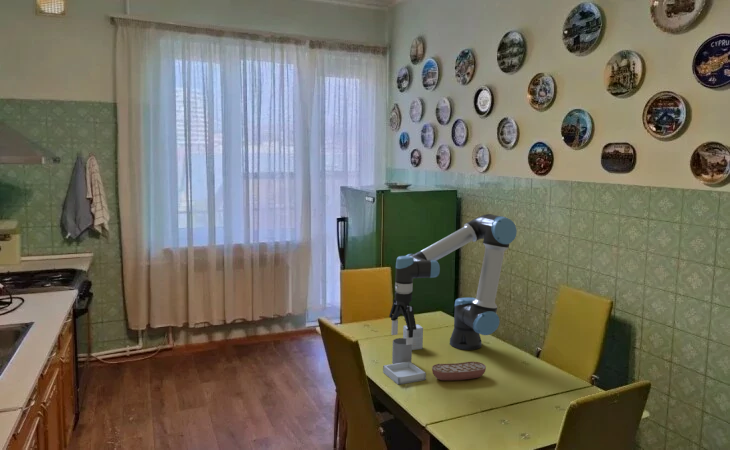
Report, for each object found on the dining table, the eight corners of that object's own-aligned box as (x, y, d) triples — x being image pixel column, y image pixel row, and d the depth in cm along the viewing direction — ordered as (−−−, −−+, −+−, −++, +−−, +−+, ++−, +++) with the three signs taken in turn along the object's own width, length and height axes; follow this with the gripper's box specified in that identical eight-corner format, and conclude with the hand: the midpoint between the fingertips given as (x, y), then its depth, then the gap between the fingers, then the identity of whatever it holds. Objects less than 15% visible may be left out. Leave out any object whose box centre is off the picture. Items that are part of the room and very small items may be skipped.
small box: (418, 345, 265) (418, 324, 263) (422, 349, 259) (423, 327, 258) (402, 346, 262) (403, 325, 261) (407, 350, 257) (407, 329, 256)
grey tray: (409, 367, 236) (409, 361, 236) (425, 379, 224) (425, 372, 223) (383, 372, 231) (383, 365, 230) (398, 384, 219) (398, 377, 218)
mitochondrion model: (479, 372, 233) (480, 360, 233) (490, 381, 224) (490, 369, 223) (428, 376, 228) (429, 364, 228) (437, 385, 219) (437, 373, 218)
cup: (409, 367, 237) (410, 345, 235) (391, 365, 238) (391, 343, 237) (412, 360, 245) (412, 338, 244) (394, 358, 246) (394, 337, 245)
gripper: (382, 286, 247) (381, 331, 250) (410, 299, 225) (408, 349, 227) (397, 284, 250) (395, 329, 253) (425, 298, 228) (423, 347, 230)
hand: (401, 339), depth 240 cm, fingers open, 13 cm apart
